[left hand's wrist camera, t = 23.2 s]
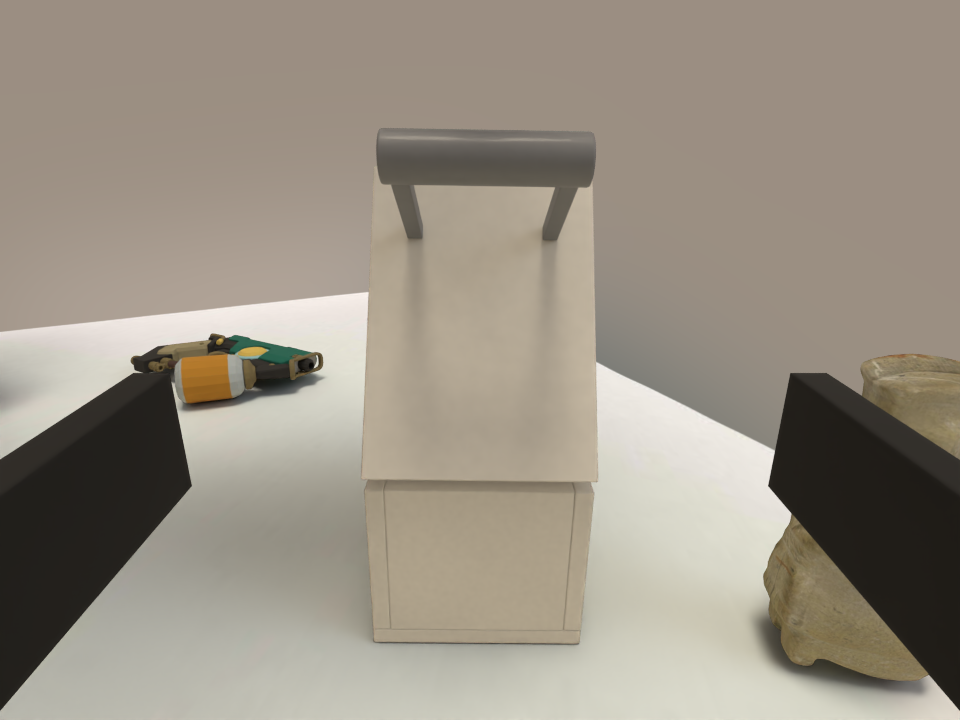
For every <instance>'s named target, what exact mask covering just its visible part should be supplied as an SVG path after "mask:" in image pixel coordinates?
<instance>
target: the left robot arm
mask: <svg viewBox="0 0 960 720" xmlns="http://www.w3.org/2000/svg"><path fill="white" fill-rule="evenodd" d="M191 486H192V485H191V480H190V475H189V470H188V464H187V459H186V454H185V449H184V444H183V439H182V434H181V429H180V424H179V419H178V414H177V409H176V403H175V398H174V393H173V388H172V383H171V378H170V373H133V374H131V375H130V376H128V377H127V378H125V379H124V380H122V381H121V382H119V383H117V384H116V385H114V386H113V387H111V388H110V389H108V390H107V391H105V392H104V393H102V394H101V395H99V396H97V397H96V398H94V399H93V400H91V401H90V402H88V403H87V404H85V405H84V406H82V407H81V408H79V409H77V410H76V411H74V412H73V413H71V414H70V415H68V416H67V417H65V418H64V419H62V420H61V421H59V422H57V423H56V424H54V425H53V426H51V427H50V428H48V429H47V430H45V431H44V432H42V433H41V434H39V435H37V436H36V437H34V438H33V439H31V440H30V441H28V442H27V443H25V444H24V445H22V446H21V447H19V448H17V449H16V450H14V451H13V452H11V453H10V454H8V455H7V456H5V457H4V458H2V459H0V710H1V709H2V708H3V707H4V706H5V704H6V703H7V702H8V701H9V700H10V699H11V697H12V696H13V695H14V694H15V693H16V692H17V690H18V689H19V688H20V687H21V686H22V685H23V683H24V682H25V681H26V680H27V679H28V677H29V676H30V675H31V674H32V673H33V672H34V670H35V669H36V668H37V667H38V666H39V665H40V663H41V662H42V661H43V660H44V659H45V658H46V656H47V655H48V654H49V653H50V652H51V651H52V649H53V648H54V647H55V646H56V645H57V643H58V642H59V641H60V640H61V639H62V638H63V636H64V635H65V634H66V633H67V632H68V631H69V629H70V628H71V627H72V626H73V625H74V624H75V622H76V621H77V620H78V619H79V618H80V616H81V615H82V614H83V613H84V612H85V611H86V609H87V608H88V607H89V606H90V605H91V604H92V602H93V601H94V600H95V599H96V598H97V597H98V595H99V594H100V593H101V592H102V591H103V590H104V588H105V587H106V586H107V585H108V584H109V582H110V581H111V580H112V579H113V578H114V577H115V575H116V574H117V573H118V572H119V571H120V570H121V568H122V567H123V566H124V565H125V564H126V563H127V561H128V560H129V559H130V558H131V557H132V556H133V554H134V553H135V552H136V551H137V550H138V548H139V547H140V546H141V545H142V544H143V543H144V541H145V540H146V539H147V538H148V537H149V536H150V534H151V533H152V532H153V531H154V530H155V529H156V527H157V526H158V525H159V524H160V523H161V521H162V520H163V519H164V518H165V517H166V516H167V514H168V513H169V512H170V511H171V510H172V509H173V507H174V506H175V505H176V504H177V503H178V502H179V500H180V499H181V498H182V497H183V496H184V495H185V493H186V492H187V491H188V490H189V489H190V487H191ZM768 486H769V487H770V489H771V490H772V491H773V492H774V493H775V495H776V496H777V497H778V498H779V499H780V500H781V502H782V503H783V504H784V505H785V506H786V507H787V509H788V510H789V511H790V512H791V513H792V514H793V516H794V517H795V518H796V519H797V520H798V521H799V523H800V524H801V525H802V526H803V527H804V529H805V530H806V531H807V532H808V533H809V534H810V536H811V537H812V538H813V539H814V540H815V541H816V543H817V544H818V545H819V546H820V547H821V548H822V550H823V551H824V552H825V553H826V554H827V556H828V557H829V558H830V559H831V560H832V561H833V563H834V564H835V565H836V566H837V567H838V568H839V570H840V571H841V572H842V573H843V574H844V575H845V577H846V578H847V579H848V580H849V581H850V582H851V584H852V585H853V586H854V587H855V588H856V590H857V591H858V592H859V593H860V594H861V595H862V597H863V598H864V599H865V600H866V601H867V602H868V604H869V605H870V606H871V607H872V608H873V609H874V611H875V612H876V613H877V614H878V615H879V616H880V618H881V619H882V620H883V621H884V622H885V624H886V625H887V626H888V627H889V628H890V629H891V631H892V632H893V633H894V634H895V635H896V636H897V638H898V639H899V640H900V641H901V642H902V643H903V645H904V646H905V647H906V648H907V649H908V651H909V652H910V653H911V654H912V655H913V656H914V658H915V659H916V660H917V661H918V662H919V663H920V665H921V666H922V667H923V668H924V669H925V670H926V672H927V673H928V674H929V675H930V676H931V677H932V679H933V680H934V681H935V682H936V683H937V685H938V686H939V687H940V688H941V689H942V690H943V692H944V693H945V694H946V695H947V696H948V697H949V699H950V700H951V701H952V702H953V703H954V704H955V706H956V707H957V708H958V709H959V710H960V459H958V458H956V457H955V456H953V455H952V454H950V453H949V452H947V451H946V450H944V449H943V448H941V447H939V446H938V445H936V444H935V443H933V442H932V441H930V440H929V439H927V438H926V437H924V436H923V435H921V434H919V433H918V432H916V431H915V430H913V429H912V428H910V427H909V426H907V425H906V424H904V423H903V422H901V421H899V420H898V419H896V418H895V417H893V416H892V415H890V414H889V413H887V412H886V411H884V410H883V409H881V408H879V407H878V406H876V405H875V404H873V403H872V402H870V401H869V400H867V399H866V398H864V397H863V396H861V395H859V394H858V393H856V392H855V391H853V390H852V389H850V388H849V387H847V386H846V385H844V384H843V383H841V382H839V381H838V380H836V379H835V378H833V377H832V376H830V375H829V374H827V373H791V374H790V378H789V383H788V388H787V394H786V398H785V404H784V409H783V414H782V419H781V424H780V429H779V434H778V439H777V444H776V449H775V454H774V459H773V464H772V470H771V475H770V480H769V485H768Z"/></svg>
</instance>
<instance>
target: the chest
mask: <svg viewBox="0 0 960 720" xmlns="http://www.w3.org/2000/svg"><path fill="white" fill-rule="evenodd" d="M364 495H365V510H366V526H367V541H368V557H369V572H370V588H371V603H372V619H373V634H374V641H375V642H441V643H560V644H578V643H579V641H580V629H581V621H582V611H583V601H584V591H585V581H586V571H587V561H588V551H589V541H590V531H591V521H592V511H593V501H594V491H593V488H592V485H591V482H532V481H441V480H368V481H367V484H366V487H365V490H364Z"/></svg>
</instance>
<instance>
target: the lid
mask: <svg viewBox="0 0 960 720" xmlns="http://www.w3.org/2000/svg"><path fill="white" fill-rule="evenodd" d="M376 155H377V166H375V167H374V178H373V202H372V227H371V251H370V276H369V299H368V324H367V348H366V372H365V396H364V421H363V445H362V469H361V479H362V480H441V481H532V482H598V449H597V395H596V341H595V287H594V234H593V175H594V169H595V160H596V142H595V137H594V133H592V132H584V131H525V130H464V129H406V128H405V129H404V128H381V129H379V131H378V135H377V145H376Z"/></svg>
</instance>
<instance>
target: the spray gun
mask: <svg viewBox="0 0 960 720" xmlns="http://www.w3.org/2000/svg"><path fill="white" fill-rule="evenodd" d="M316 355H318V359H319V365H318V367H316V368H314V366H315V364H316V361H317V358H316ZM131 363H132V364H133V365H134V369H135V370H136V371H139V372H142V373H151V372H154V371H156V372H161V371H163V370H164V369H174V368H175V386H176V391H177V395H178V397H179V399H181V400H182V401H183V402H185V403H187V404H188V403H196V402H204V401H212V400H220V399H228V398H234V397H237V396H239V395H241V394H242V392H243V391H244V390H245V388H246V389H252V387H253V385H254V383H255V382H256V378H257V379H274V378H289V377H290V378H291V380H295V379H296V378H297V377H300V376H303V375H306V374H309V373H312V372H315V371H318V370H320V369H321V368H322V366H323V357H322V354H321V353H318V352H314V353H311V352H307V351H303V350H299V349H295V348H291V347H283V346H279V345H274V344H269V343H265V342H260V341H256V340H251V339H250V338H248V337H243V336H238V335H233V336H232V337H229V338H225V336H223V335H218V334H211V335H210V337H209V340H206V341H198V342H190V343H181V344H172V345H165V346H158V347H156V348H154V349H153V350H151V351H149V352H147V353H146V354H144V355H142V356H133V357H132V358H131ZM313 368H314V369H313Z"/></svg>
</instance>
